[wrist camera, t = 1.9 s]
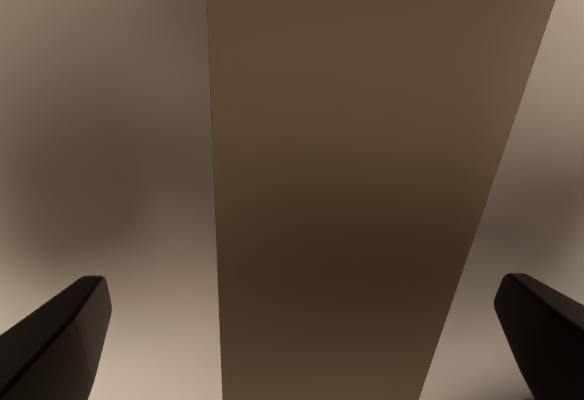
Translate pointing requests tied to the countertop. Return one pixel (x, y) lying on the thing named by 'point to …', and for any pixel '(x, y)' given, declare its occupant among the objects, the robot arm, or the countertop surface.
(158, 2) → the countertop surface
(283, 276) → the brown wooden bar
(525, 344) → the robot arm
